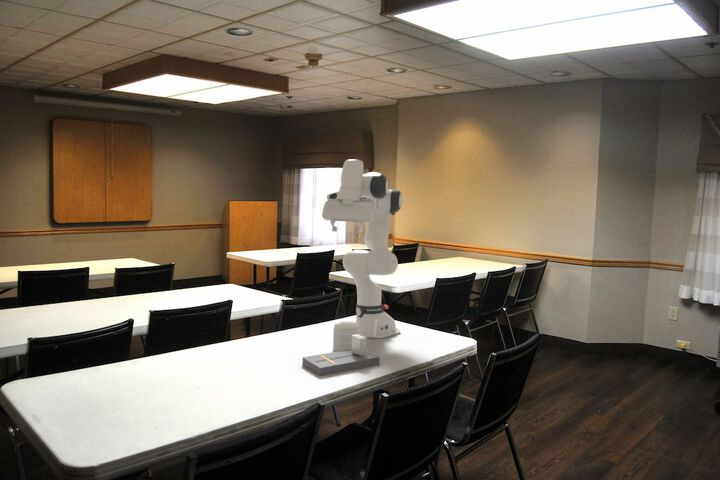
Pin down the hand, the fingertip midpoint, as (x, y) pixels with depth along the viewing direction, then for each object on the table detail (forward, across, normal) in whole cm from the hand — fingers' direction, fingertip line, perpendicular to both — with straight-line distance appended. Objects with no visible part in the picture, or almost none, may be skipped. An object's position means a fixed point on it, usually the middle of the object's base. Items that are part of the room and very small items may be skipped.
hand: (345, 232), depth 211 cm
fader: (+45, -8, -12) cm, 48 cm away
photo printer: (+45, +1, -25) cm, 52 cm away
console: (+51, -2, -7) cm, 51 cm away
